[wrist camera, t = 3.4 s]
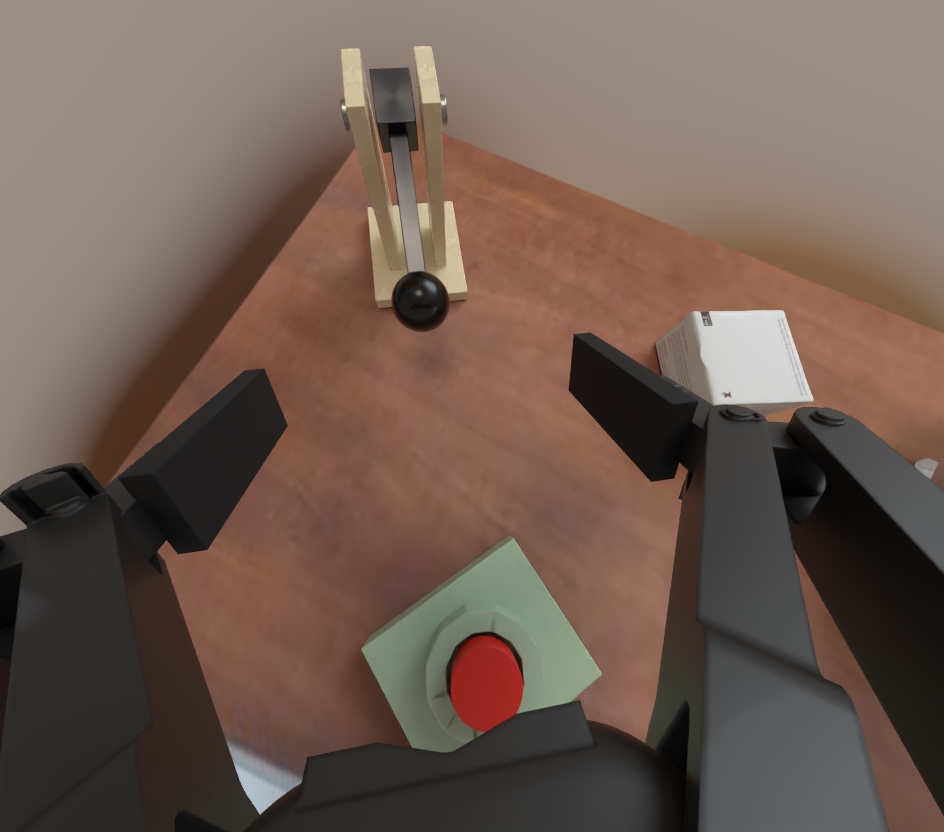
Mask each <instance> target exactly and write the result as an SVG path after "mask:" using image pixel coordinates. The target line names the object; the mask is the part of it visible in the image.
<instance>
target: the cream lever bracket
mask: <svg viewBox="0 0 944 832" xmlns="http://www.w3.org/2000/svg"><path fill="white" fill-rule="evenodd" d="M414 56H415V67H416V78H417V90H418V101H419V112H420V124H421V136H422V147H423V158H424V169H425V181H426V192H427V203H422V204H417V208H418V216H419V223H420V231H421V239H422V246H423V254H424V262H425V269H426V272H428V273H431V274H433V275H435V276H436V277H437V278H439V279H440V280H441V282H442V283H443V284H444V286H445V287H446V289H447V291H448V294H449V300H450V301H456V300H466V299H467V287H466V281H465V275H464V269H463V263H462V257H461V251H460V245H459V239H458V233H457V227H456V221H455V215H454V209H453V203H452V201H449V202H444V179H443V148H442V126H446V125H447V104H446V97H445V95H444V94H439V88H438V83H437V76H436V71H435V65H434V59H433V53H432V48H431V46H421V47H414ZM341 57H342V70H343V84H344V98H345V99H341V100H340V104H341V110H342V115H343V119H344V123H345V127H346V129H347V131H352V134H353V137H354V141H355V145H356V148H357V152H358V156H359V159H360V163H361V167H362V170H363V174H364V178H365V181H366V185H367V188H368V192H369V196H370V199H371V203H372V207H368V208H367V209H368V220H369V232H370V243H371V254H372V266H373V277H374V289H375V300H376V303H377V306H378V308H386V307H392V303H391V297H392V292H393V289H394V286H395V285H396V283H397V282H398V280H399V279H400V278H401V277H403V276H404V275H406V274H408V272H407V265H406V257H405V250H404V243H403V235H402V228H401V220H400V213H399V206H398V205H395V206H392V204H391V199H390V194H389V189H388V184H387V180H386V175H385V170H384V165H383V160H382V156H381V151H380V146H379V141H378V136H377V132H376V127H375V122H374V117H373V112H372V108H371V103H370V98H369V93H368V89H367V84H366V79H365V74H364V69H363V64H362V60H361V55H360V51H359V49H341Z"/></svg>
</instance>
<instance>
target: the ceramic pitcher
mask: <svg viewBox="0 0 944 832" xmlns="http://www.w3.org/2000/svg"><path fill="white" fill-rule="evenodd" d="M914 467H915V468H917V469H918V470H919V471H920V472H922V473H923V474H924V475H925V476H926V477H928V478H929V479H930V480H931V481H932V482H934V483H935V484H936V485H937V486H938V487H940V488H941V489H942V490H943V491H944V457H943V458H942V460H941V461H940V462H939V463H938V462H936V461H934V460H932V459H929V458H925V459H922V460H920V461H917V462H916V463H915V465H914Z"/></svg>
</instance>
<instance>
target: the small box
mask: <svg viewBox="0 0 944 832" xmlns="http://www.w3.org/2000/svg"><path fill="white" fill-rule="evenodd" d="M655 344H656V348H657V353H658V358H659V363H660V367H661V372H662V376H665V377H667V378H670V379H672V380H673V381H675V382H677V383H678V384H680V386H683V387H685V388H686V389H688V390H689V391H691V392H693V393H695V394H696V395H698V396H699V397H701V398H703V399H704V400H706V401H708V402H709V403H711V404H712V405H714V406H715V405H721V404H729V405H737V406H741V407H746V408H749V409H751V410H754V411H756V412H758V413H760V414H761V415H763V416H767V415H770V414H773V413H776V412H780V411H783V410H787V409H790V408H793V407H797V406H800V405H803V404H807V403H810V402H813V397H812V394H811V392H810V389H809V386H808V383H807V380H806V377H805V374H804V372H803V369H802V366H801V363H800V360H799V356H798V353H797V351H796V348H795V345H794V342H793V339H792V336H791V332H790V329H789V326H788V323H787V320H786V317H785V313H784V311H782V310H763V311H707V312H705V311H704V312H697V311H693V312H691V313H690V314H689V315H688V316H687V317H685V318H684V319H683V320H682V321H681V322H680V323H678V324H677V325H676V326H675V327H674V328H672V329H671V330H670V331H669V332H668V333H666V334H665V335H664V336H663V337H661V338H660V339H659V340H658V341H657V342H656V343H655Z"/></svg>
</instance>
